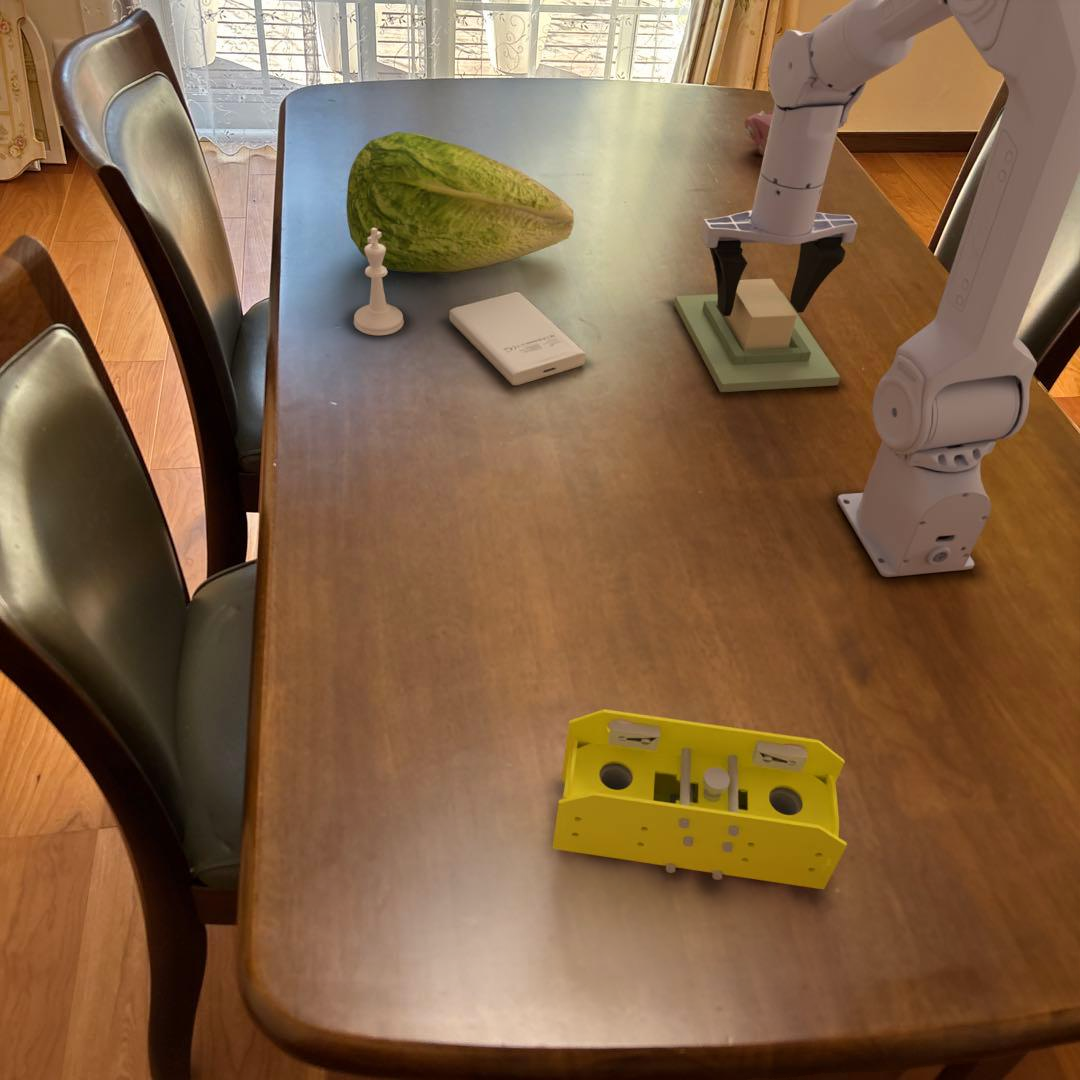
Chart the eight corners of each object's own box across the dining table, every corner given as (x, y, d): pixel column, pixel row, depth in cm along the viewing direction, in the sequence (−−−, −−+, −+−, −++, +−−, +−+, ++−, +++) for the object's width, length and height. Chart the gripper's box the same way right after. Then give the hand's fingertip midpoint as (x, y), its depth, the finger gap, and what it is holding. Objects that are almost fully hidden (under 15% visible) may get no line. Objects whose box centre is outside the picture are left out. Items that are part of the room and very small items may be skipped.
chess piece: (343, 326, 101) (336, 232, 94) (372, 304, 104) (367, 212, 97) (385, 341, 100) (381, 246, 93) (413, 318, 103) (410, 225, 96)
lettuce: (576, 306, 108) (602, 173, 102) (343, 280, 103) (353, 138, 96) (551, 264, 121) (572, 143, 114) (342, 239, 115) (351, 110, 108)
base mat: (837, 385, 99) (843, 368, 98) (720, 392, 97) (724, 375, 95) (780, 299, 110) (784, 282, 109) (673, 304, 108) (676, 287, 107)
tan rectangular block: (787, 352, 101) (797, 315, 98) (743, 354, 100) (751, 317, 97) (763, 314, 106) (772, 278, 103) (721, 316, 105) (728, 280, 102)
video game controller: (745, 156, 141) (735, 113, 136) (773, 138, 141) (764, 94, 135) (786, 186, 135) (777, 142, 129) (815, 167, 135) (808, 122, 129)
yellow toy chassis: (814, 816, 64) (850, 737, 58) (820, 901, 60) (860, 825, 54) (561, 779, 65) (572, 697, 59) (550, 860, 61) (561, 781, 55)
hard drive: (518, 304, 106) (584, 365, 99) (449, 323, 103) (512, 387, 95) (519, 290, 105) (586, 350, 98) (449, 308, 102) (512, 372, 94)
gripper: (849, 155, 96) (813, 285, 105) (702, 158, 93) (678, 291, 102) (881, 188, 91) (840, 322, 100) (726, 192, 88) (699, 329, 97)
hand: (760, 309), depth 101 cm, fingers open, 7 cm apart
